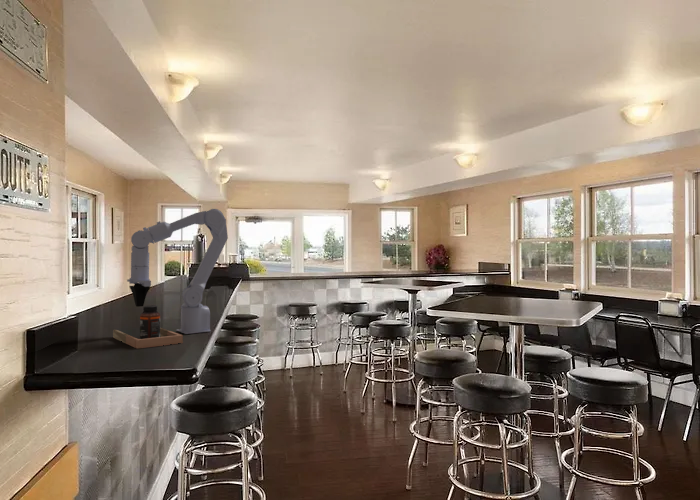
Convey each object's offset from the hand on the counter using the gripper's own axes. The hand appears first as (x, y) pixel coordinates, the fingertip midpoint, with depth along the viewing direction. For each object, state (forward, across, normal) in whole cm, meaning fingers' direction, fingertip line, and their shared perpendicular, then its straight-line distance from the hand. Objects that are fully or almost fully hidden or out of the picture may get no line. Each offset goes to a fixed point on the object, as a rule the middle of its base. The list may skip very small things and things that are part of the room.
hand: (139, 306), depth 174 cm
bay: (+9, +12, -2) cm, 15 cm away
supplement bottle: (+10, +15, -2) cm, 18 cm away
